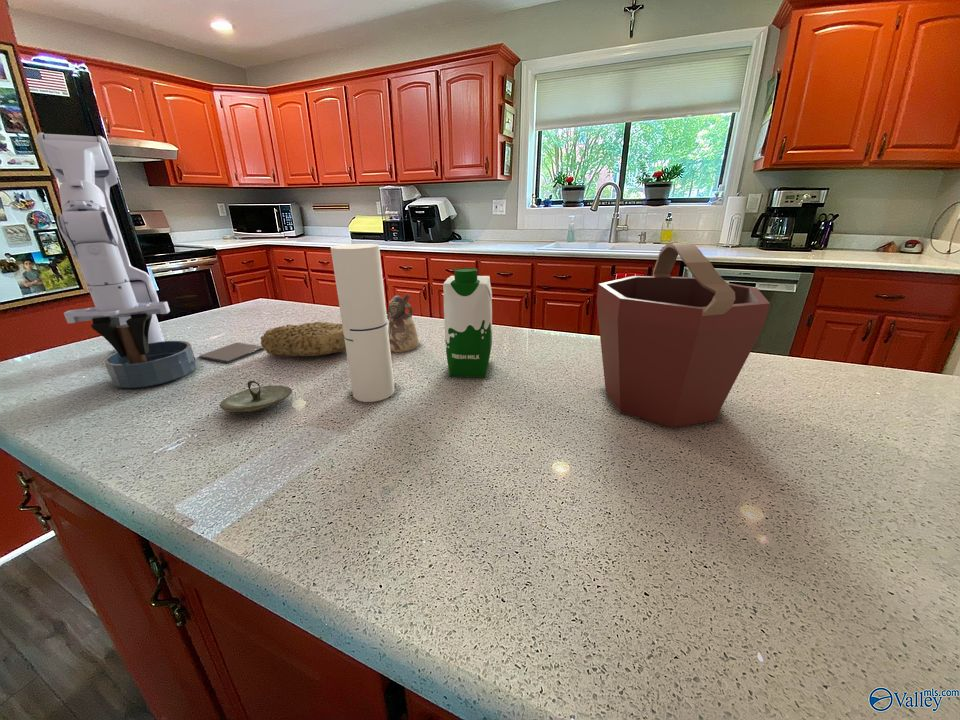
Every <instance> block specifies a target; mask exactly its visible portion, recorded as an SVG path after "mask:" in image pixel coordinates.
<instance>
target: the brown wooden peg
mask: <svg viewBox="0 0 960 720" xmlns="http://www.w3.org/2000/svg"><path fill="white" fill-rule="evenodd" d="M116 329H117V332H118V335H119V337H120V340H121V343H122V345H123V348H124V351H125V353H126V356H127V359H128V361H129V364H134V363H142V362H147V359H146V357H145V354H144V355H141V353H140V351H139V348H138V345H137V342H136V339H135V337H134V335H133V333H132V331H131V329H130V327H129V326H128V324H125V325H120V326H117V327H116Z"/></svg>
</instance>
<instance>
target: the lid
mask: <svg viewBox="0 0 960 720" xmlns="http://www.w3.org/2000/svg"><path fill="white" fill-rule="evenodd" d="M252 384H256V385H257V387H254V388H253V387H252V388H251V385H252ZM292 394H293V389H292V388H291V387H289V386H287V385H286V386H285V385H263V386H261V385H260V383H259V382H257V381H255V380H249V381H247V389H244V390H242V391H238V392H236V393H234V394H232V395H229V396H227V397H225V398H224V399H223V400H222V401H220V403H219V407H220V409H221V410H224V411H227V412H235V413H236V412H238V413H240V412H249V413H252V412H256V411H259V410H262V409H265V408H268V407H271V406H273V405H276V404H278V403H280V402H282V401H283V400H285V399H286V398H288V397H289V396H291V395H292Z"/></svg>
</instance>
